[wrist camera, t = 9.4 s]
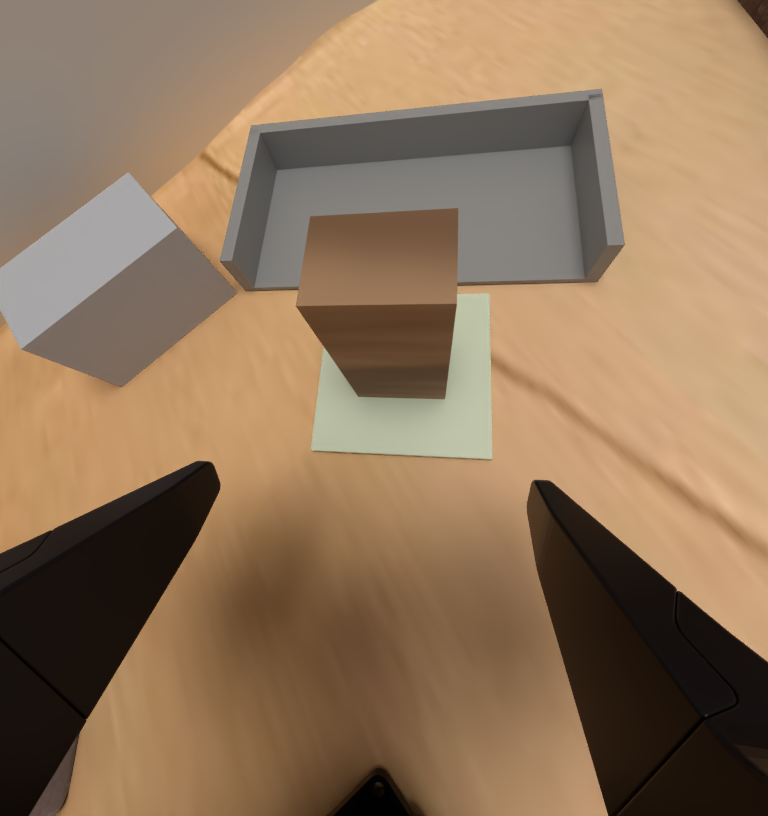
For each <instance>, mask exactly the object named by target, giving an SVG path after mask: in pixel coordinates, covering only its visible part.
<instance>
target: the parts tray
mask: <svg viewBox="0 0 768 816" xmlns="http://www.w3.org/2000/svg"><path fill="white" fill-rule="evenodd" d="M450 208H458V270H457V285H486V284H524V283H563V282H598V280H599V279H600V277H601V276H602V275H603V273H604V272H605V271H606V269H607V268H608V267H609V265H610V264H611V263H612V261H613V260H614V259H615V257H616V256H617V255H618V253H619V252H620V251H621V249H622V248H623V246H624V245H625V242H624V236H623V229H622V222H621V215H620V208H619V202H618V195H617V188H616V181H615V174H614V167H613V161H612V154H611V147H610V140H609V133H608V127H607V120H606V113H605V106H604V99H603V93H602V89H596V90H586V91H577V92H567V93H557V94H548V95H538V96H529V97H519V98H510V99H500V100H490V101H481V102H471V103H462V104H452V105H443V106H433V107H423V108H414V109H404V110H395V111H385V112H376V113H366V114H356V115H347V116H337V117H328V118H318V119H308V120H299V121H289V122H280V123H270V124H261V125H251V128H250V133H249V137H248V141H247V146H246V150H245V154H244V159H243V163H242V167H241V172H240V176H239V180H238V185H237V189H236V193H235V198H234V202H233V206H232V211H231V215H230V219H229V223H228V228H227V232H226V236H225V241H224V245H223V249H222V254H221V258H220V262H221V263H222V264H223V265H224V267H225V268H226V269H227V270H228V271H229V272H230V273H231V275H232V276H233V277H234V278H235V279H236V280H237V281H238V283H239V284H240V285H241V286H242V287H243V288H244V289H245V291H255V290H294V289H299V284H300V277H301V271H302V265H303V258H304V252H305V246H306V240H307V233H308V227H309V221H310V216H325V215H343V214H361V213H379V212H397V211H415V210H433V209H450Z"/></svg>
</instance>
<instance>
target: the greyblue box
mask: <svg viewBox="0 0 768 816" xmlns="http://www.w3.org/2000/svg"><path fill="white" fill-rule="evenodd" d="M236 294H237V292H236V291H235V290H234V289H233V287H232V286H231V285H230V284H229V283H228V282H227V281H226V280H225V278H224V277H223V276H222V275H221V274H220V273H219V272H218V270H217V269H216V268H215V267H214V266H213V265H212V264H211V263H210V261H209V260H208V259H207V258H206V257H205V256H204V255H203V253H202V252H201V251H200V250H199V249H198V248H197V247H196V245H195V244H194V243H193V242H192V241H191V240H190V239H189V238H188V237H187V236H186V235H185V233H184V232H183V231H182V230H181V229H180V228H179V227H178V226H177V225H176V224H175V223H174V221H173V220H172V219H171V218H170V217H169V216H168V215H167V214H166V213H165V212H164V210H163V209H162V208H161V207H160V206H159V205H158V204H157V203H156V202H155V201H154V200H153V198H152V197H151V196H150V195H149V194H148V193H147V192H146V191H145V190H144V189H143V188H142V187H141V185H140V184H139V183H138V182H137V181H136V180H135V179H134V178H133V177H132V176H131V174H130V173H129V172H128V173H127V174H125V175H124V176H123V177H121V178H120V179H119V180H117V181H116V182H115V183H113V184H112V185H111V186H109V187H108V188H107V189H105V190H104V191H103V192H101V193H100V194H99V195H97V196H96V197H95V198H94V199H92V200H91V201H89V202H88V203H87V204H85V205H84V206H83V207H81V208H80V209H79V210H78V211H76V212H75V213H73V214H72V215H71V216H69V217H68V218H67V219H65V220H64V221H63V222H61V223H60V224H59V225H57V226H56V227H55V228H53V229H52V230H51V231H49V232H48V233H47V234H46V235H44V236H43V237H41V238H40V239H39V240H37V241H36V242H35V243H33V244H32V245H31V246H29V247H28V248H27V249H25V250H24V251H23V252H21V253H20V254H19V255H17V256H16V257H15V258H13V259H12V260H11V261H9V262H8V263H7V264H6V265H4V266H3V267H1V268H0V310H1V312H2V314H3V316H4V318H5V320H6V322H7V324H8V326H9V327H10V329H11V331H12V333H13V335H14V337H15V339H16V341H17V343H18V345H19V346H20V348H21V349H22V350H24V351H27V352H30V353H32V354H35V355H37V356H40V357H43V358H45V359H48V360H51V361H53V362H56V363H59V364H61V365H64V366H67V367H69V368H72V369H75V370H77V371H80V372H83V373H85V374H88V375H91V376H93V377H96V378H99V379H101V380H104V381H107V382H109V383H112V384H114V385H117V386H120V387H123V386H124V385H125V384H126V383H127V382H129V381H130V380H131V379H132V378H134V377H135V376H136V375H137V374H139V373H140V372H141V371H142V370H143V369H145V368H146V367H147V366H148V365H150V364H151V363H152V362H153V361H155V360H156V359H157V358H158V357H159V356H161V355H162V354H163V353H164V352H166V351H167V350H168V349H169V348H171V347H172V346H173V345H174V344H175V343H177V342H178V341H179V340H180V339H182V338H183V337H184V336H185V335H186V334H188V333H189V332H190V331H191V330H193V329H194V328H195V327H196V326H198V325H199V324H200V323H201V322H202V321H204V320H205V319H206V318H207V317H209V316H210V315H211V314H212V313H214V312H215V311H216V310H217V309H218V308H220V307H221V306H222V305H223V304H225V303H226V302H227V301H228V300H230V299H231V298H232V297H233V296H234V295H236Z"/></svg>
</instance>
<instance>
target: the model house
mask: <svg viewBox="0 0 768 816" xmlns="http://www.w3.org/2000/svg"><path fill="white" fill-rule="evenodd" d="M738 1H739V3H740V4H741V5H742V6H743V8H744V9H745V10H746V11H747V13H748V14H749V15H750V16H751V18H752V19H753V20H754V21H755V23H756V24H757V25H758V26H759V28H760V29H761V30H762V31H763V33H764V34H765V35H766V36H767V38H768V0H738Z"/></svg>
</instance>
